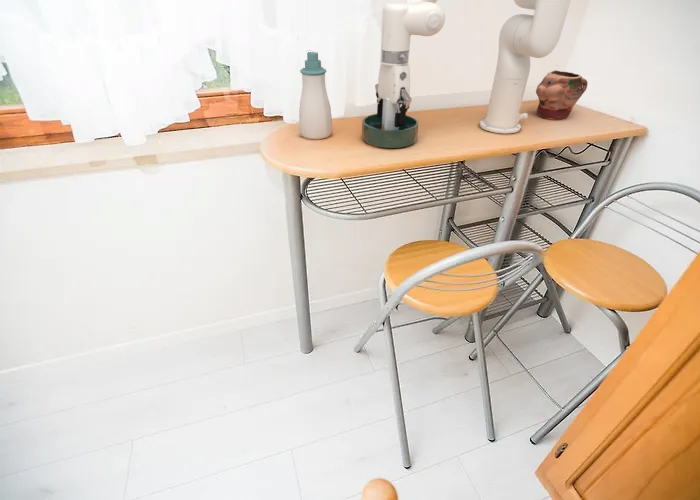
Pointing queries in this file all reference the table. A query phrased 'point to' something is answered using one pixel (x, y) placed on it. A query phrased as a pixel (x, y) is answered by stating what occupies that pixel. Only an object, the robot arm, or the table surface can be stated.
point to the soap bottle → (314, 101)
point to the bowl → (389, 132)
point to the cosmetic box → (389, 115)
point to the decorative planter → (559, 94)
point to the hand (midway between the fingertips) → (390, 121)
